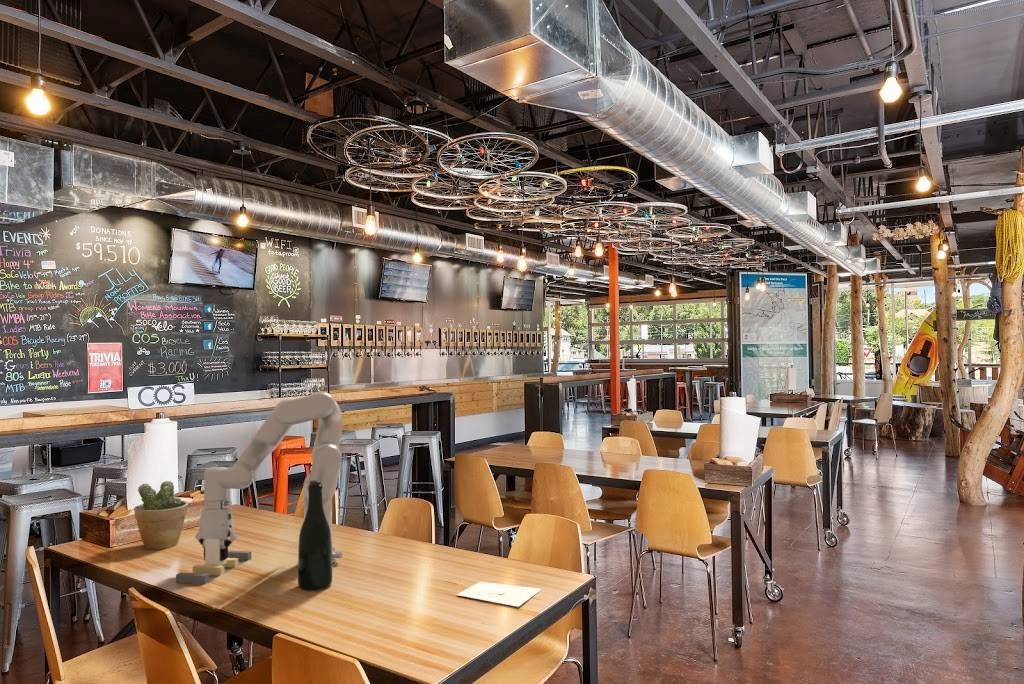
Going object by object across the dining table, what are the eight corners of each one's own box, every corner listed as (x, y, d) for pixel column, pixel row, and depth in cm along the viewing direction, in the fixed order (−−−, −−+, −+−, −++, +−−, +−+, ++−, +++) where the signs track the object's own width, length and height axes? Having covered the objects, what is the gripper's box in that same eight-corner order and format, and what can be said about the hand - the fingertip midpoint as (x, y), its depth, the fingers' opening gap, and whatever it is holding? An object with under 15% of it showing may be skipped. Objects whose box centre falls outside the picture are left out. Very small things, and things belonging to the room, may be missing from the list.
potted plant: (152, 538, 256) (153, 476, 256) (197, 538, 255) (198, 476, 256) (123, 552, 237) (123, 485, 238) (171, 552, 237) (172, 485, 237)
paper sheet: (449, 596, 191) (449, 592, 191) (502, 572, 215) (502, 568, 215) (515, 611, 178) (515, 607, 178) (564, 584, 203) (564, 580, 203)
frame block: (226, 563, 213) (226, 536, 213) (218, 566, 209) (219, 539, 209) (212, 562, 214) (212, 535, 214) (205, 566, 210) (205, 538, 210)
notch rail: (251, 562, 223) (251, 551, 224) (205, 588, 198) (205, 575, 198) (225, 561, 225) (225, 550, 225) (176, 587, 199) (176, 574, 199)
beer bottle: (339, 583, 202) (339, 479, 203) (313, 593, 193) (314, 484, 194) (316, 578, 207) (316, 476, 208) (290, 587, 198) (290, 481, 199)
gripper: (246, 502, 215) (245, 557, 214) (200, 501, 217) (199, 555, 216) (233, 507, 207) (232, 564, 206) (185, 506, 210) (185, 561, 209)
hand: (215, 558), depth 211 cm, fingers closed on frame block, 5 cm apart
